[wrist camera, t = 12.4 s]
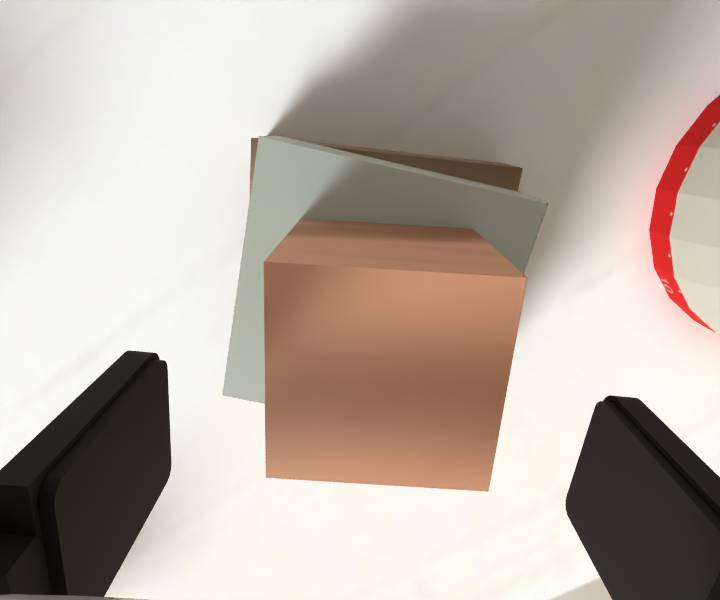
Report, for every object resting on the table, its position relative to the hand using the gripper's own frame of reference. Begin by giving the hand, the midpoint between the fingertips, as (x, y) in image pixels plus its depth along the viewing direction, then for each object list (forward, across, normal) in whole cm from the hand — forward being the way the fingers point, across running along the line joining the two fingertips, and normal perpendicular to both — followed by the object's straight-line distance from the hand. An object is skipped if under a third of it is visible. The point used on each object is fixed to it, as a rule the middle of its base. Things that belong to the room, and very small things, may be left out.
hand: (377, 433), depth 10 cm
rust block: (+8, 0, 0) cm, 8 cm away
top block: (+11, 0, 0) cm, 11 cm away
